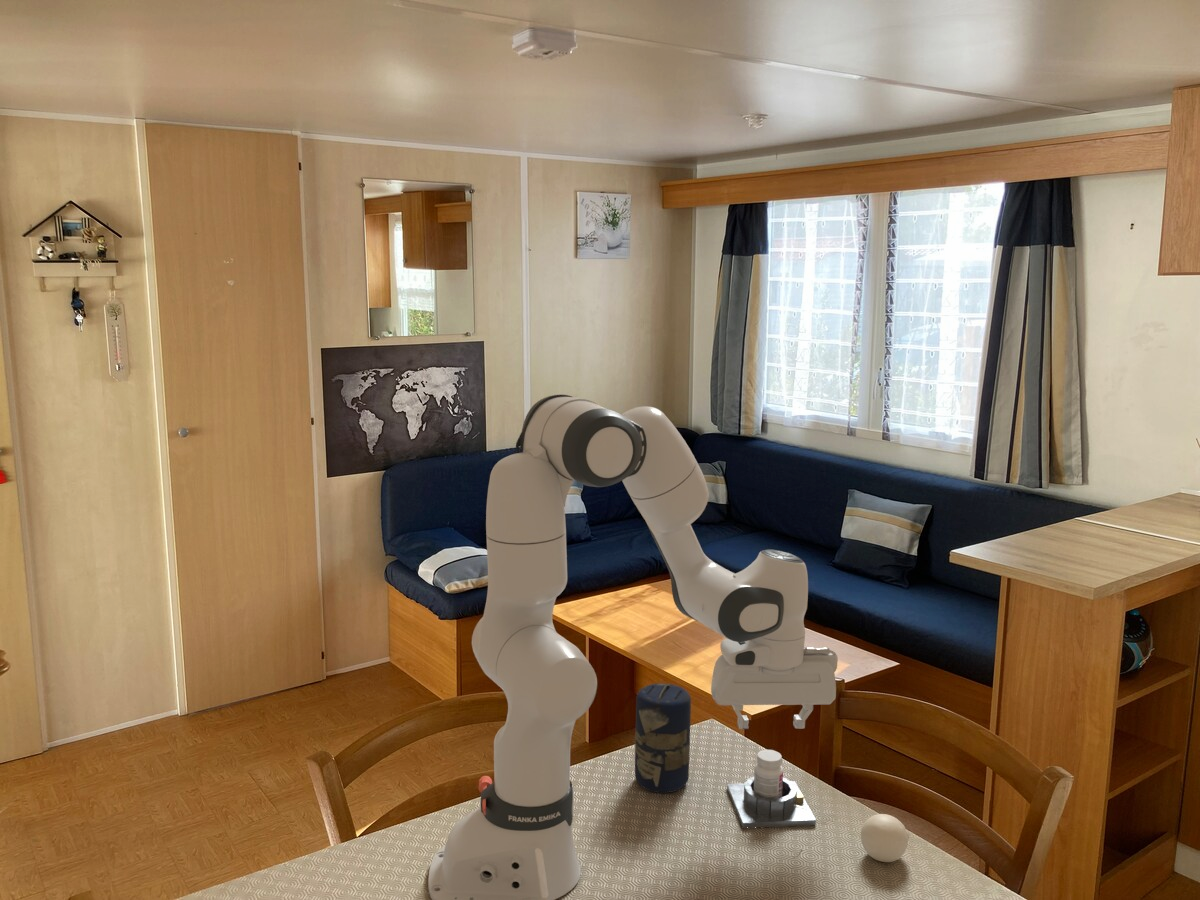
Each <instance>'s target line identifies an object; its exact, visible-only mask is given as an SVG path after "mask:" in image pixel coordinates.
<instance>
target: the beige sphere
mask: <svg viewBox="0 0 1200 900" xmlns="http://www.w3.org/2000/svg"><path fill="white" fill-rule="evenodd" d="M906 829H907V827H905V825H904V824H903V823H902V822H901V821H900V820H899V819H898V818H897V817H895V816H893V815H890V814H886V813H878V814H877V813H876V814H874V815H871V816H870V817H869V818H867V819H866V820H865V822H864V823H863V824H862V826H861V830H860V842H861V844H862V847H863V849H864V850H865V852H866V853H867V854H868V855H869V856H870V857H871V858H873V859H874V860H876V861H878V862H881V863H882V862H883V863H892V862H893V863H894V862H895V861H897V860H899V859H900V858H901V857H902V856H903V855H904V854H905V853H906V850H907V848H908V845H909V838H910V836H909V832H908V831H907V830H906Z"/></svg>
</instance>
